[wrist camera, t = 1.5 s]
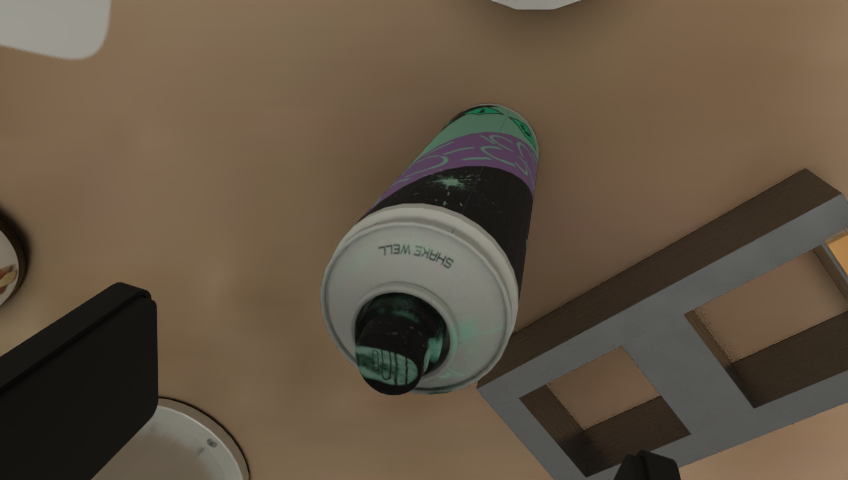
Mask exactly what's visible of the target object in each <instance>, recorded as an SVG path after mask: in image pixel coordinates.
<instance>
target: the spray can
mask: <svg viewBox="0 0 848 480" xmlns="http://www.w3.org/2000/svg"><path fill="white" fill-rule="evenodd" d="M538 161H539V147H538V142H537V138H536V135H535V133H534V131H533V129H532V127H531V126H530V124H529V123H528V121H527V120H526V119H525V118H524V117H523V116H521V115H520V114H519V113H518V112H516V111H514V110H513V109H511V108H509V107H506V106H503V105H499V104H492V103H488V104H479V105H475V106H471V107H469V108H467V109H465V110H463V111H462V112H460V113H459V114H458V115H456V116H455V117H454V118H453V119H452V120H451V121H450V122H449V123H448V124H447V125H446V126H445V127H444V128H443V130H442V131H441V132H440V133H439V134H438V135H437V136H436V137H435V138H434V139H433V140H432V142H431V143H430V144H429V145H428V146H427V147H426V148H425V149H424V150H423V151H422V152H421V154H420V155H419V156H418V157H417V158H416V159H415V160H414V161H413V162H412V163H411V164H410V165H409V167H408V168H407V169H406V170H405V171H404V172H403V173H402V174H401V175H400V176H399V177H398V179H397V180H396V181H395V182H394V183H393V184H392V185H391V186H390V187H389V188H388V189H387V191H386V192H385V193H384V194H383V195H382V196H381V197H380V198H379V199H378V200H377V201H376V202H375V204H374V205H373V206H372V207H371V208H370V209H369V210H368V211H367V212H366V213H365V214H364V216H363V217H362V218H361V219H360V220H359V221H358V222H357V223H356V224H355V225H354V226H353V228H352V229H351V230H350V231H349V232H348V233H347V234H346V236H345V237H344V238H343V239H342V240H341V241H340V243H339V245H338V247H337V248H336V250H335V252H334V254H333V256H332V258H331V260H330V262H329V264H328V266H327V267H326V269H325V272H324V276H323V280H322V284H321V299H320V303H321V308H322V314H323V319H324V322H325V324H326V327H327V329H328V332H329V334H330V336H331V338H332V339H333V341H334V343H335V344H336V346H337V347H338V349H339V350H340V351H341V352H342V354H343V355H344V356H345V357H346V358H347V359H348V360H349V362H351V363H352V364H353V365H354V366H355V367H357V368H358V369H359V371H360V373H361V375H362V377H363V378H364V380H365V381H366V382H367V383H368V384H369V385H370V386H371V387H372V388H373V389H375V390H377V391H378V392H380V393H383V394H387V395H401V394H404V393H407V392H410V393H418V394H439V393H448V392H451V391H455V390H458V389H462V388H465V387H467V386H469V385H470V384H472V383H474V382H476V381H478V380H480V379H481V378H482V377H483V376H484V375H486V374H487V373H488V372H489V371H491V370H492V368H493V367H494V366H495V364H496V363H497V362H498V361H499V359H500V358H501V356H502V354H503V352H504V350H505V348H506V346H507V344H508V340H509V338H510V336H511V334H512V331H513V329H514V326H515V321H516V317H517V312H518V305H519V298H520V291H521V283H522V276H523V269H524V262H525V255H526V247H527V240H528V233H529V226H530V219H531V211H532V204H533V197H534V190H535V183H536V175H537V168H538Z"/></svg>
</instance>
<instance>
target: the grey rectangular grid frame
mask: <svg viewBox="0 0 848 480" xmlns="http://www.w3.org/2000/svg"><path fill="white" fill-rule="evenodd" d="M811 249H813V251H814V252H815V253H816V255H817V256H818V258H819V259H820V261H821V262H822V264H823V265H824V267H825V268H826V270H827V271H828V273H829V274H830V276H831V277H832V279H833V280H834V281H835V283H836V284H837V286H838V287H839V289H840V290H841V292H842V293H843V295H844V296H845V298H846V299H847V301H848V202H847V200H846V199H845V197H844V196H843V194H842V193H841V192H839V191H838V190H836V189H835V188H833V187H832V186H830V185H829V184H827V183H826V182H825V181H823V180H822V179H820V178H819V177H817V176H816V175H814V174H813V173H811V172H810V171H809V170H807V169H806V168H805V169H804V170H802V171H800V172H798V173H796V174H795V175H793V176H791V177H789V178H788V179H786V180H784V181H782V182H781V183H779V184H777V185H775V186H774V187H772V188H770V189H768V190H767V191H765V192H763V193H761V194H759V195H758V196H756V197H754V198H752V199H751V200H749V201H747V202H745V203H744V204H742V205H740V206H738V207H737V208H735V209H733V210H731V211H730V212H728V213H726V214H724V215H722V216H721V217H719V218H717V219H715V220H714V221H712V222H710V223H708V224H707V225H705V226H703V227H701V228H700V229H698V230H696V231H694V232H692V233H691V234H689V235H687V236H685V237H684V238H682V239H680V240H678V241H677V242H675V243H673V244H671V245H670V246H668V247H666V248H664V249H663V250H661V251H659V252H657V253H655V254H654V255H652V256H650V257H648V258H647V259H645V260H643V261H641V262H640V263H638V264H636V265H634V266H633V267H631V268H629V269H627V270H626V271H624V272H622V273H620V274H618V275H617V276H615V277H613V278H611V279H610V280H608V281H606V282H604V283H603V284H601V285H599V286H597V287H596V288H594V289H592V290H590V291H589V292H587V293H585V294H583V295H581V296H580V297H578V298H576V299H574V300H573V301H571V302H569V303H567V304H566V305H564V306H562V307H560V308H559V309H557V310H555V311H553V312H551V313H550V314H548V315H546V316H544V317H543V318H541V319H539V320H537V321H536V322H534V323H532V324H530V325H529V326H527V327H525V328H523V329H522V330H520V331H518V332H516V333H514V334H513V335H511V336H510V338H509V340H508V344H507V346H506V348H505V350H504V352H503V354H502V356H501V358H500V359H499V361H498V362H497V363H496V364H495V366H494V367H493V368H492V370H491V371H489V372H488V373H487V374H486V375H484V376H483V377H482V378H481V379H480V380H478V385H477V390H478V392H479V393H480V394H481V395H482V396H483V397H484V399H485V400H486V401H487V402H488V403H489V404H490V406H491V407H492V408H493V409H494V410H495V411H496V412H497V414H498V415H499V416H500V417H501V418H502V419H503V421H504V422H505V423H506V424H507V425H508V426H509V428H510V429H511V430H512V431H513V432H514V433H515V435H516V436H517V437H518V438H519V439H520V440H521V441H522V443H523V444H524V445H525V446H526V447H527V448H528V450H529V451H530V452H531V453H532V454H533V455H534V457H535V458H536V459H537V460H538V461H539V462H540V463H541V465H542V466H543V467H544V468H545V469H546V470H547V472H548V473H549V474H550V475H551V476H552V477H553V479H554V480H613V479H614V477H615V475H616V473H617V471H618V469H619V467H620V465H621V463H622V461H623V459H624V458H625V456H626V455H627V454H631V455H634V456H636V454H637V453H638V451H640V450H646V451H649V452H652V453H655V454H658V455H661V456H664V457H667V458H670V459H674V460H675V461H676V463H677V466H678V468H680V467H682V466H685V465H688V464H690V463H693V462H695V461H698V460H700V459H703V458H706V457H708V456H711V455H713V454H716V453H718V452H721V451H724V450H726V449H729V448H731V447H734V446H736V445H739V444H742V443H744V442H747V441H749V440H752V439H754V438H757V437H760V436H762V435H765V434H767V433H770V432H772V431H775V430H778V429H780V428H783V427H785V426H788V425H790V424H793V423H796V422H798V421H801V420H803V419H806V418H808V417H811V416H814V415H816V414H819V413H821V412H824V411H826V410H829V409H832V408H834V407H837V406H839V405H842V404H844V403H847V402H848V312H845V313H843V314H841V315H839V316H837V317H834V318H832V319H830V320H828V321H826V322H823V323H821V324H819V325H817V326H814V327H812V328H810V329H808V330H806V331H803V332H801V333H799V334H797V335H795V336H792V337H790V338H788V339H786V340H783V341H781V342H779V343H777V344H775V345H772V346H770V347H768V348H766V349H764V350H761V351H759V352H757V353H755V354H752V355H750V356H748V357H746V358H744V359H741V360H739V361H737V362H735V363H733V364H732V362H731V361H730V360H729V358H728V357H727V356H726V354H725V353H724V352H723V350H722V349H721V348H720V346H719V345H718V343H717V342H716V341H715V339H714V338H713V337H712V335H711V334H710V333H709V331H708V330H707V329H706V327H705V326H704V325H703V323H702V322H701V321H700V319H699V318H698V317H697V315H696V314H695V313H694V311H693V309H695V308H697V307H699V306H701V305H703V304H705V303H707V302H709V301H711V300H713V299H715V298H717V297H719V296H721V295H723V294H725V293H726V292H728V291H730V290H732V289H734V288H736V287H738V286H740V285H742V284H744V283H746V282H748V281H750V280H752V279H754V278H756V277H758V276H760V275H762V274H764V273H766V272H768V271H770V270H772V269H774V268H776V267H778V266H780V265H782V264H784V263H786V262H788V261H790V260H792V259H793V258H795V257H797V256H799V255H801V254H803V253H805V252H807V251H809V250H811ZM620 346H623V348H624V349H625V350H626V351H627V353H628V354H629V355H630V357H631V358H632V359H633V360H634V362H635V363H636V364H637V365H638V367H639V368H640V369H641V371H642V372H643V373H644V374H645V376H646V377H647V378H648V379H649V381H650V382H651V383H652V385H653V386H654V387H655V388H656V390H657V391H658V392H659V393H660V395H661V396H660V397H657V398H655V399H653V400H651V401H648V402H646V403H644V404H642V405H640V406H637V407H635V408H633V409H631V410H629V411H626V412H624V413H622V414H620V415H617V416H615V417H613V418H611V419H609V420H606V421H604V422H602V423H600V424H598V425H595V426H593V427H591V428H589V429H586V430H584V431H583V430H582V428H581V427H580V426H579V425H578V424H577V422H576V421H575V420H574V419H573V418H572V416H571V415H570V414H569V413H568V412H567V410H566V409H565V408H564V407H563V406H562V404H561V403H560V402H559V401H558V400H557V398H556V397H555V396H554V395H553V394H552V392H551V391H550V390H549V389H548V387H547V386H546V385H545V384H547V383H549V382H551V381H553V380H555V379H557V378H559V377H561V376H563V375H565V374H567V373H569V372H571V371H573V370H575V369H577V368H579V367H581V366H583V365H585V364H587V363H589V362H591V361H592V360H594V359H596V358H598V357H600V356H602V355H604V354H606V353H608V352H610V351H612V350H614V349H616V348H618V347H620Z"/></svg>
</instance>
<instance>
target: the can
mask: <svg viewBox="0 0 848 480" xmlns="http://www.w3.org/2000/svg"><path fill="white" fill-rule="evenodd" d="M492 1H494V2H497V3H500V4H503V5H506V6H509V7H512V8H514V9H556V8H559V7H562V6H565V5H568V4H571V3H574V2H577V1H580V0H492Z"/></svg>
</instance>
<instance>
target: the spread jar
mask: <svg viewBox="0 0 848 480" xmlns="http://www.w3.org/2000/svg"><path fill="white" fill-rule="evenodd" d="M25 268H26V262H25V256H24V253H23V250H22V248H21V245H20V243H19V241H18V239H17V238H16V236H15V235H14V233H13V232H12V231H11V229H10V228H9V227H8V226H7V225H6V224H5V223H4V222H3V221H2V220H1V219H0V305H1V304H2V303H3V302H4V301H6V300H7V299H8V298H9V297H10V296H11V295H12V294H13V292H14V291H15V290H16V289H17V288H18V286H19V285H20V283H21V281H22V280H23V277H24V274H25Z"/></svg>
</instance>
